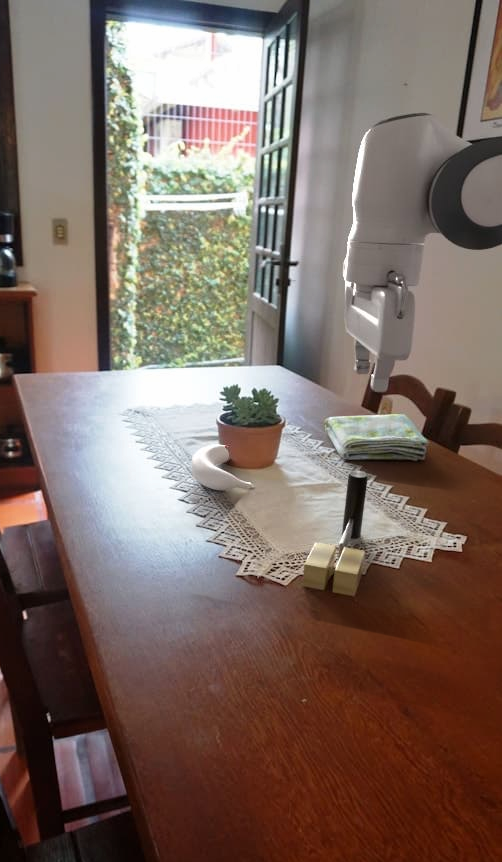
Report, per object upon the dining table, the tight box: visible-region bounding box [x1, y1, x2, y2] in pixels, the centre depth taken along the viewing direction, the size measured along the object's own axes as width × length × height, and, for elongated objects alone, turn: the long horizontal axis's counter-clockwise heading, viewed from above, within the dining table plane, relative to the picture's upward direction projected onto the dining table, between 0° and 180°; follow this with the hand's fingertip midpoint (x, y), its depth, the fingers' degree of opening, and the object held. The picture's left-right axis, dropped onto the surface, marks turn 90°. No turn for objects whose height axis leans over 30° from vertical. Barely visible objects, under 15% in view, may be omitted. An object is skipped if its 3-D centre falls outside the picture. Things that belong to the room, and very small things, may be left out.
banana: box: [189, 444, 255, 491], centre depth 129 cm, size 5×19×15 cm
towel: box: [324, 413, 430, 462], centre depth 147 cm, size 18×21×5 cm
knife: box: [337, 470, 369, 563], centre depth 99 cm, size 12×3×10 cm, turn 160°
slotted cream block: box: [302, 541, 366, 597], centre depth 97 cm, size 23×11×4 cm, turn 160°
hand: (369, 381), depth 88 cm, fingers open, 8 cm apart
